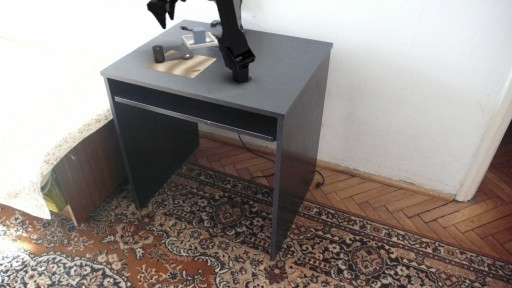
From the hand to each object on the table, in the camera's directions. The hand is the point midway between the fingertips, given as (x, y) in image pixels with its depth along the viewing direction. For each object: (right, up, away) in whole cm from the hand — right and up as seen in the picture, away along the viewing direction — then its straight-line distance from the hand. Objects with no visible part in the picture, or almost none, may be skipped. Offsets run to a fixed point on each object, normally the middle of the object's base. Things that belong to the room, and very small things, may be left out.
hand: (168, 24), depth 124 cm
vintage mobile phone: (+23, +5, +25) cm, 34 cm away
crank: (+2, -12, 0) cm, 12 cm away
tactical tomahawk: (+8, +5, +26) cm, 27 cm away
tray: (+9, -4, +14) cm, 17 cm away
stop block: (+9, -3, +13) cm, 16 cm away
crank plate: (+5, -15, -2) cm, 16 cm away
